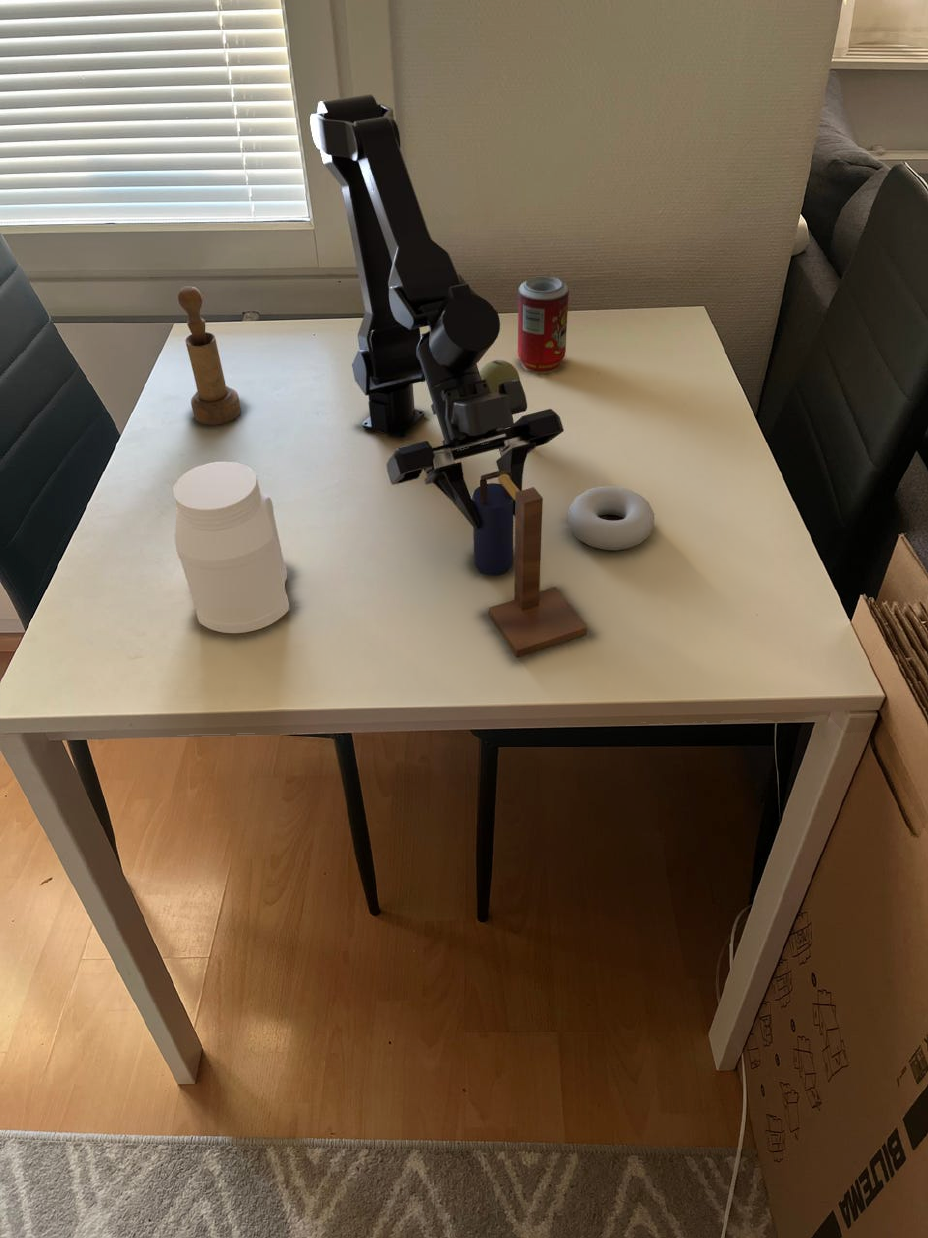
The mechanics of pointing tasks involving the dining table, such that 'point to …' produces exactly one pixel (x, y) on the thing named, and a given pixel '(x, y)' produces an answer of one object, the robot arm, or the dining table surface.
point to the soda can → (542, 323)
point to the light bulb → (498, 375)
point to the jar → (229, 548)
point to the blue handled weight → (493, 526)
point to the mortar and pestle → (206, 367)
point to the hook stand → (532, 586)
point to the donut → (611, 532)
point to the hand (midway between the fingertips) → (498, 523)
